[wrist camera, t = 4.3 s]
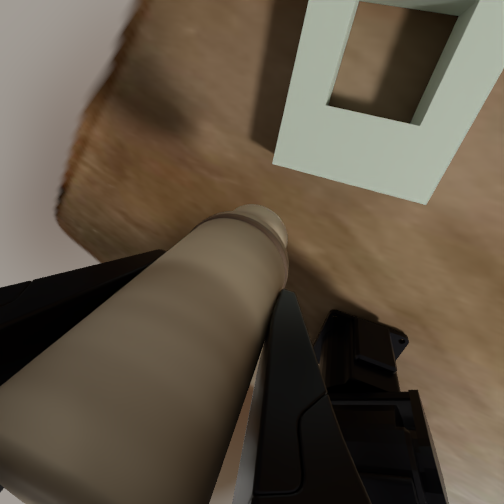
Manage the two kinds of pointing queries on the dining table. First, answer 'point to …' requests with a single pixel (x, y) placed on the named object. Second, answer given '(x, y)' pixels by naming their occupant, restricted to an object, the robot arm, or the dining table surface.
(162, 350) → the peg
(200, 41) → the dining table surface
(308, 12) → the board
